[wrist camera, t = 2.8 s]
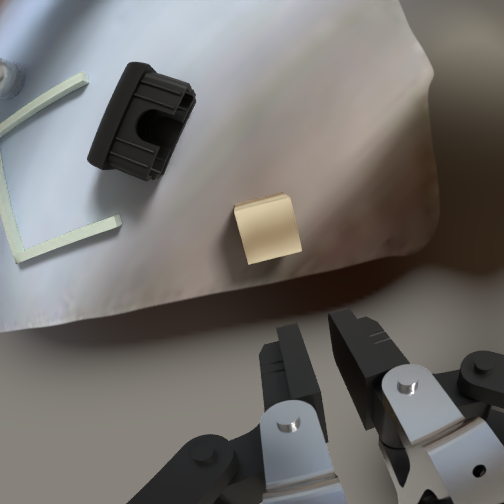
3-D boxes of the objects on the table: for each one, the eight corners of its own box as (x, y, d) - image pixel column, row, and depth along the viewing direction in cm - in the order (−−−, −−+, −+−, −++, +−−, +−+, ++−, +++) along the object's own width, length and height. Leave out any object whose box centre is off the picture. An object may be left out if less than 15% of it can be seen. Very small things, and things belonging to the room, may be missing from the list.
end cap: (141, 75, 26) (119, 56, 19) (200, 94, 27) (189, 76, 21) (105, 159, 28) (74, 159, 22) (161, 181, 29) (140, 186, 23)
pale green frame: (-8, 135, 26) (-14, 135, 24) (87, 74, 25) (81, 71, 24) (22, 260, 31) (16, 264, 29) (122, 224, 30) (117, 227, 29)
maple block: (235, 204, 30) (234, 211, 26) (282, 192, 30) (290, 197, 26) (247, 249, 32) (248, 264, 27) (292, 237, 32) (302, 251, 27)
